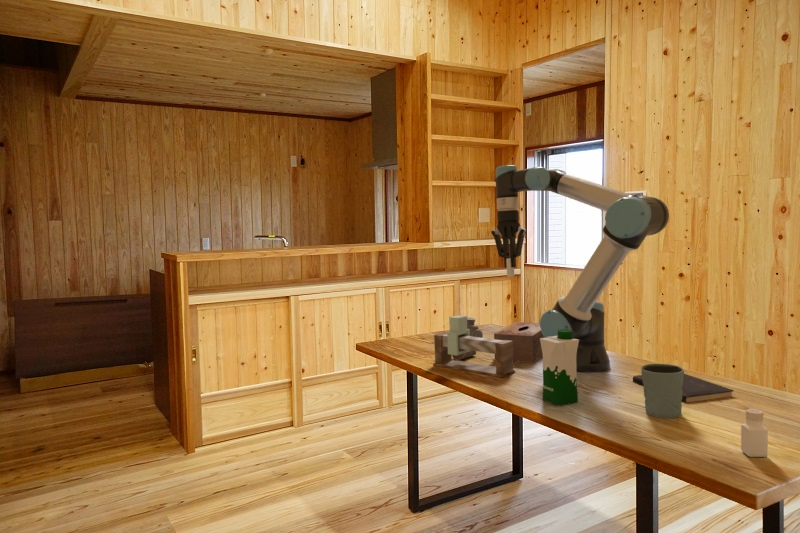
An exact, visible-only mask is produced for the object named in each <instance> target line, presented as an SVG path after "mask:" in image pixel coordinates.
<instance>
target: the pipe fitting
mask: <svg viewBox="0 0 800 533" xmlns="http://www.w3.org/2000/svg"><path fill="white" fill-rule="evenodd" d="M475 323H476V319H475V318H473V317H470V316H469V317H467V329H470V336H472V337H480V338H484V337H483V335H484V334H483V331H482V330H481V329H479V326H478V325H476V324H475Z"/></svg>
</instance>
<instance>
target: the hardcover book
mask: <svg viewBox="0 0 800 533" xmlns="http://www.w3.org/2000/svg"><path fill="white" fill-rule="evenodd" d="M632 382H633V383H636V384H638V385H641V386H642V387H644V385H643V380H642V374H638V375H633V377H632ZM682 390H683V392H682V400H681V402H683V403H690V402H699V401H705V400H706V401H707V400H713V399H714V400H715V399H720V398H728V397H730V398H731V397H733V396H732V395H733V392H734V389H732V388H731V389H730V388H728V387H725V386H722V385H719V384H716V383H713V382H710V381H707V380H705V379H702V378H698V377H695V376H692V375H689V374H688V373H687V374H686V373H684V377H683V386H682Z"/></svg>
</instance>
